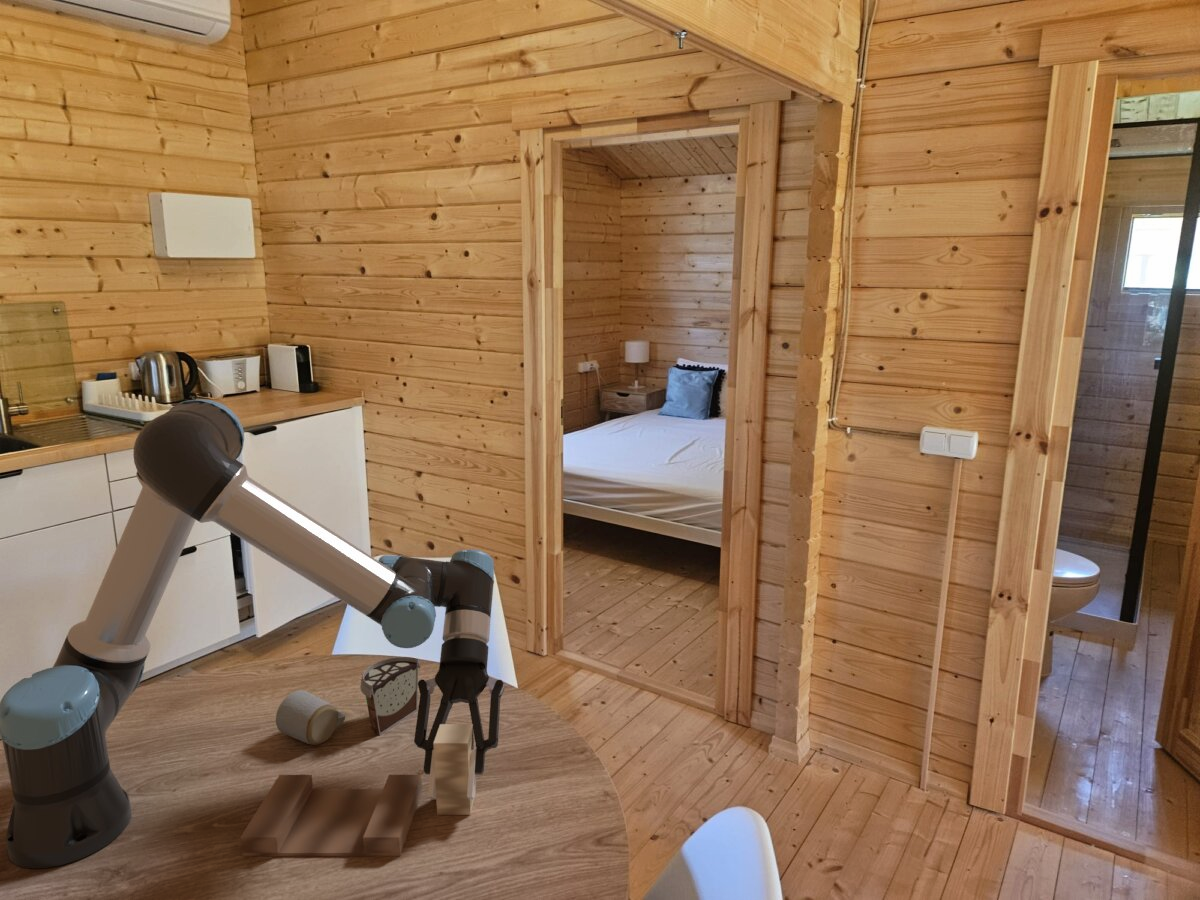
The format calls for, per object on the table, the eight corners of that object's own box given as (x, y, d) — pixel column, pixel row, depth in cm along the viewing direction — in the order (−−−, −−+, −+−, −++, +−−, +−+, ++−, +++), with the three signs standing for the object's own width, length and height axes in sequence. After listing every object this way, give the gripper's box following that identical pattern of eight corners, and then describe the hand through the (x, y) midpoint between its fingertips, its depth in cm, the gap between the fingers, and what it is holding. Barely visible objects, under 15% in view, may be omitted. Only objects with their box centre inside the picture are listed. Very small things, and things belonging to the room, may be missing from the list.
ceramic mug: (309, 755, 135) (306, 713, 134) (276, 741, 139) (272, 701, 137) (356, 725, 144) (354, 686, 143) (324, 713, 148) (321, 674, 147)
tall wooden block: (437, 814, 120) (433, 743, 118) (443, 793, 125) (440, 724, 123) (470, 814, 120) (467, 743, 118) (475, 793, 125) (472, 724, 123)
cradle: (242, 856, 112) (240, 837, 112) (281, 791, 126) (279, 774, 125) (400, 855, 112) (399, 837, 112) (422, 791, 126) (421, 774, 125)
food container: (398, 697, 153) (395, 649, 151) (422, 706, 150) (420, 657, 148) (348, 729, 143) (344, 678, 140) (373, 739, 140) (369, 687, 137)
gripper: (522, 650, 134) (514, 802, 122) (414, 650, 134) (395, 801, 122) (519, 635, 127) (510, 793, 115) (405, 635, 128) (384, 793, 115)
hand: (451, 797), depth 118 cm, fingers closed on tall wooden block, 5 cm apart
